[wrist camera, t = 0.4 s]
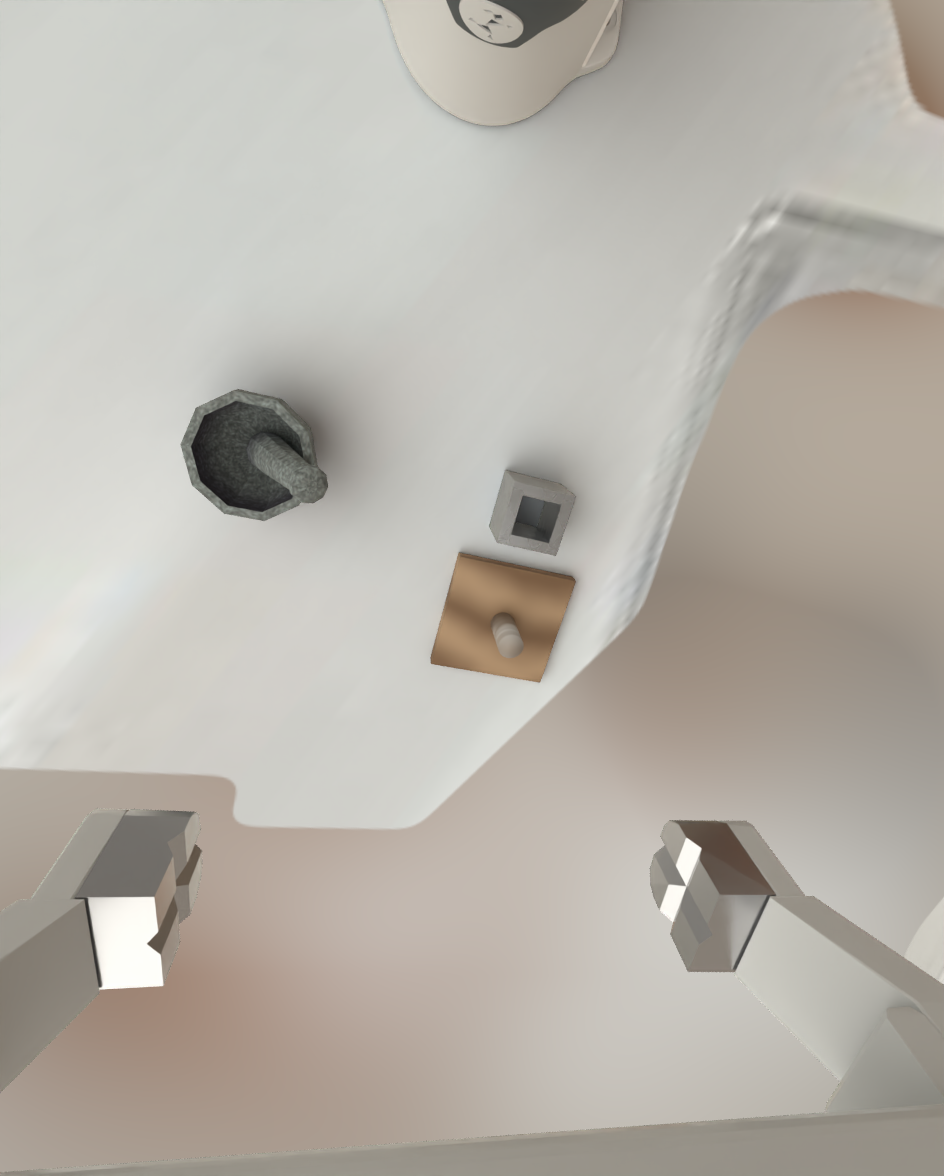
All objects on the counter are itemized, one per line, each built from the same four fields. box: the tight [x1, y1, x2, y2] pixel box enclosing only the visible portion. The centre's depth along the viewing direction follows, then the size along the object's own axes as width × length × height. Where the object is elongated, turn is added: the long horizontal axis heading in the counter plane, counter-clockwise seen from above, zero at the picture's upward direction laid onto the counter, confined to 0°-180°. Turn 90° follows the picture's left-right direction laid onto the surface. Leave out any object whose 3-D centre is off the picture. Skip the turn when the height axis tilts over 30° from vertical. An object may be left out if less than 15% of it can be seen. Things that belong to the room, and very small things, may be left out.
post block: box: [431, 553, 576, 682], centre depth 56 cm, size 12×12×6 cm
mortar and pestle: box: [181, 389, 328, 521], centre depth 44 cm, size 11×9×12 cm
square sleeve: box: [489, 470, 576, 556], centre depth 52 cm, size 6×6×5 cm
